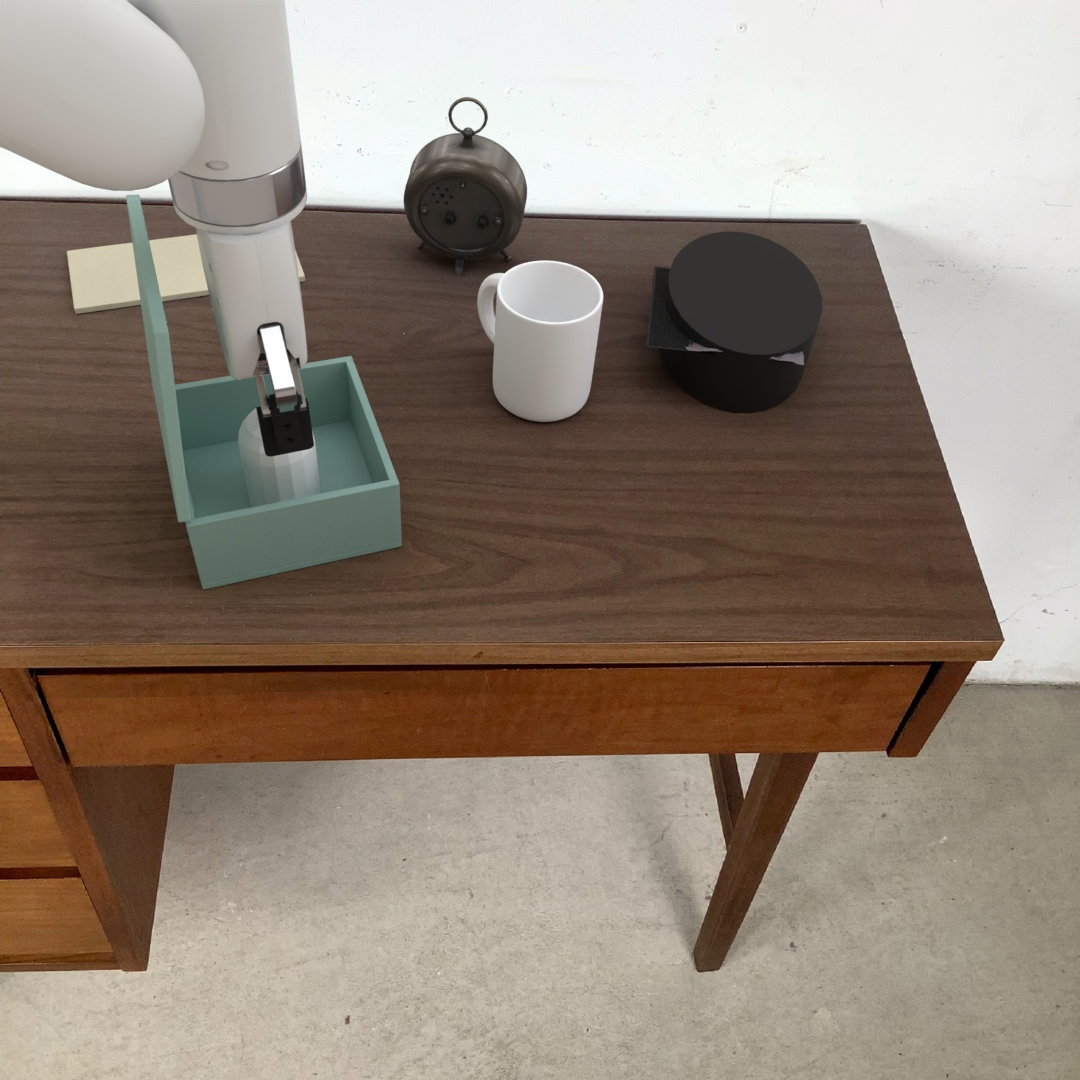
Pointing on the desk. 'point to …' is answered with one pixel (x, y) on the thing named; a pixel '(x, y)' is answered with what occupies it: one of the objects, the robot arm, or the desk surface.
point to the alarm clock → (465, 195)
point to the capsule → (275, 468)
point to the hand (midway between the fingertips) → (275, 401)
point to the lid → (159, 356)
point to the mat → (113, 278)
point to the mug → (542, 337)
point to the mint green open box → (298, 524)
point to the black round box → (735, 320)
